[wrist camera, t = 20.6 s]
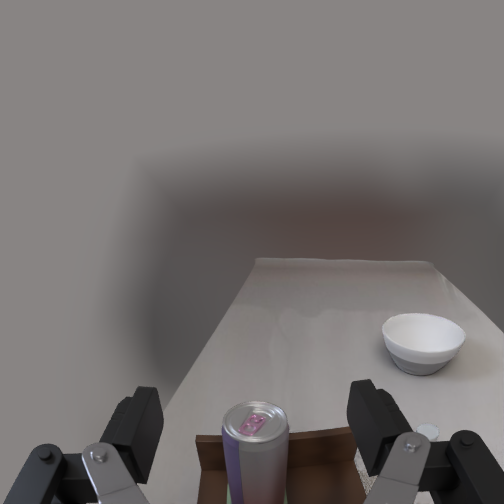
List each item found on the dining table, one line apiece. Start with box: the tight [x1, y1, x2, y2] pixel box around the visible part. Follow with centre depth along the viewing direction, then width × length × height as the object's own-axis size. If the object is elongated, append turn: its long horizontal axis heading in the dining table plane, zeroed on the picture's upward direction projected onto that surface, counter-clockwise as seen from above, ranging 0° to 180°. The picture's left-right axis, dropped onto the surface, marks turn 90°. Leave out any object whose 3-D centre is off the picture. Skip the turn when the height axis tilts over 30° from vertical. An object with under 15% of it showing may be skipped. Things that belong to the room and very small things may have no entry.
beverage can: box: [222, 401, 289, 504], centre depth 27 cm, size 6×6×15 cm
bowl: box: [382, 313, 465, 375], centre depth 61 cm, size 19×20×8 cm
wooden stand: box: [195, 426, 367, 504], centre depth 29 cm, size 20×12×10 cm, turn 91°
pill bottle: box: [416, 423, 439, 442], centre depth 34 cm, size 4×4×8 cm
